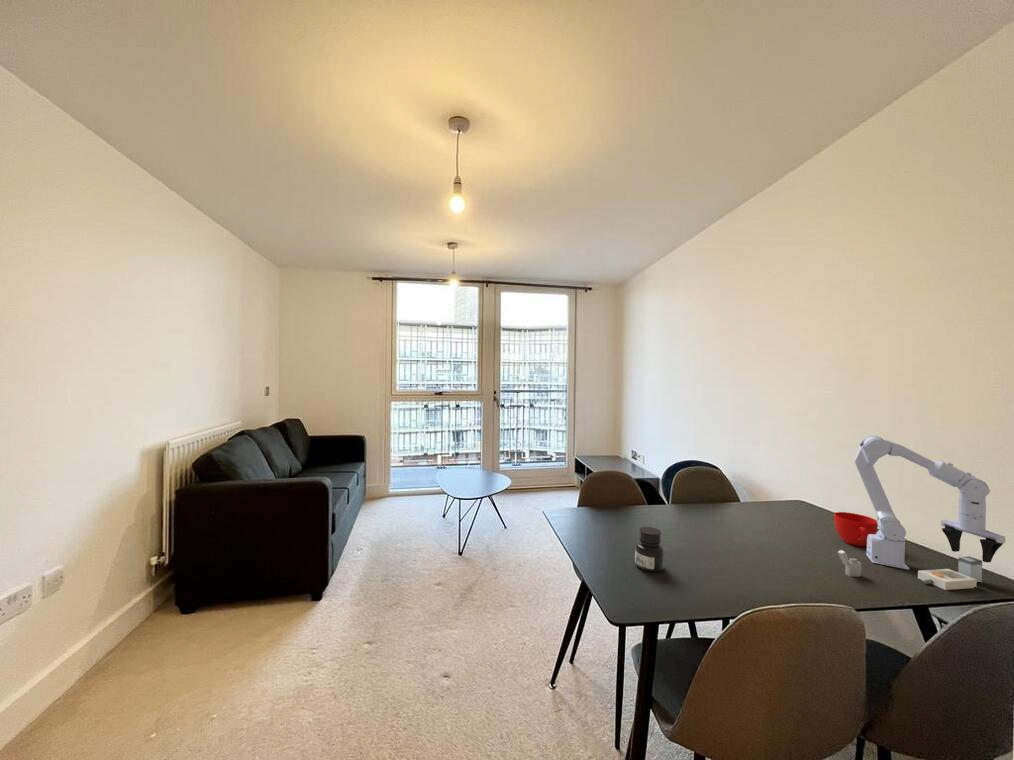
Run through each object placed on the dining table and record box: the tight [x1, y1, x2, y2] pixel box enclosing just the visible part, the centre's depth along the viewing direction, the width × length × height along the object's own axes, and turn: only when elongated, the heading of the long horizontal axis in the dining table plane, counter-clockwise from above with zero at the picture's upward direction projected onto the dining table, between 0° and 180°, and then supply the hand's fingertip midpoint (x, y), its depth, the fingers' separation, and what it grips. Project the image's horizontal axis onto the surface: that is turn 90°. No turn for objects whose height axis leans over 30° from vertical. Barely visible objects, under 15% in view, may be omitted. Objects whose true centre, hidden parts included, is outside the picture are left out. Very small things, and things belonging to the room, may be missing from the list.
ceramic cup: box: [833, 511, 879, 547], centre depth 153 cm, size 13×17×10 cm
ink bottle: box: [634, 526, 665, 573], centre depth 130 cm, size 10×9×12 cm
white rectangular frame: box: [917, 568, 978, 591], centre depth 124 cm, size 14×7×3 cm, turn 99°
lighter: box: [837, 549, 862, 578], centre depth 128 cm, size 7×2×8 cm, turn 96°
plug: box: [957, 556, 983, 583], centre depth 126 cm, size 4×3×7 cm, turn 99°
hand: (970, 556), depth 126 cm, fingers open, 7 cm apart
